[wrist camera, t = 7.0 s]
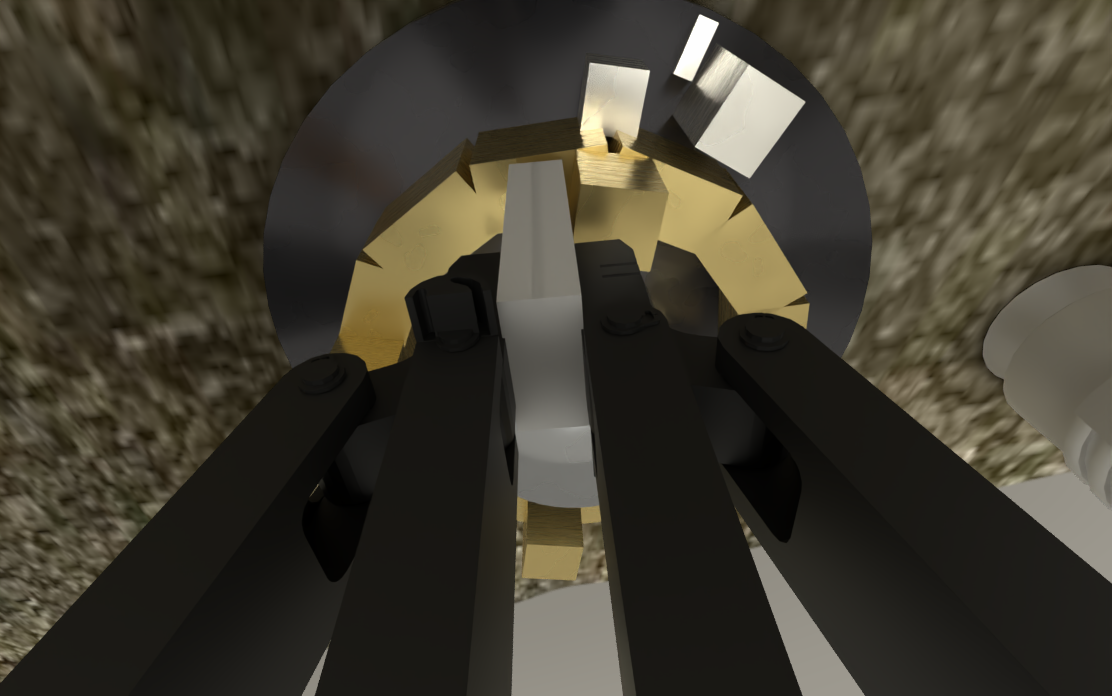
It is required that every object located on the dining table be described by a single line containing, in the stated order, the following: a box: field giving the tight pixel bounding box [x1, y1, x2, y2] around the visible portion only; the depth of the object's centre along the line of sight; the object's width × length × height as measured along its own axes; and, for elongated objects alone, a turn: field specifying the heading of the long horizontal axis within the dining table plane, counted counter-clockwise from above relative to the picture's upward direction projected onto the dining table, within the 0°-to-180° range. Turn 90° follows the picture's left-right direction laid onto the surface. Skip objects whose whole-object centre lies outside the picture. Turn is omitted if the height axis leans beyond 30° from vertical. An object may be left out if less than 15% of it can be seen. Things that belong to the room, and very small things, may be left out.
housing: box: [263, 0, 872, 508], centre depth 20 cm, size 22×22×8 cm
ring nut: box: [330, 53, 810, 580], centre depth 20 cm, size 15×15×6 cm
